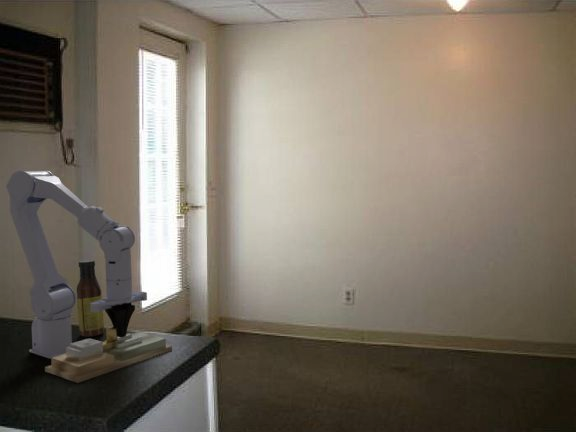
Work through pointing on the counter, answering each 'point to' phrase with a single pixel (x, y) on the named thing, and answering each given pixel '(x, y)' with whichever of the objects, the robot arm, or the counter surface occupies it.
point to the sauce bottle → (89, 300)
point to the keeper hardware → (96, 347)
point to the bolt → (110, 338)
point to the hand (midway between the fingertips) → (120, 336)
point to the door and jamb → (108, 359)
